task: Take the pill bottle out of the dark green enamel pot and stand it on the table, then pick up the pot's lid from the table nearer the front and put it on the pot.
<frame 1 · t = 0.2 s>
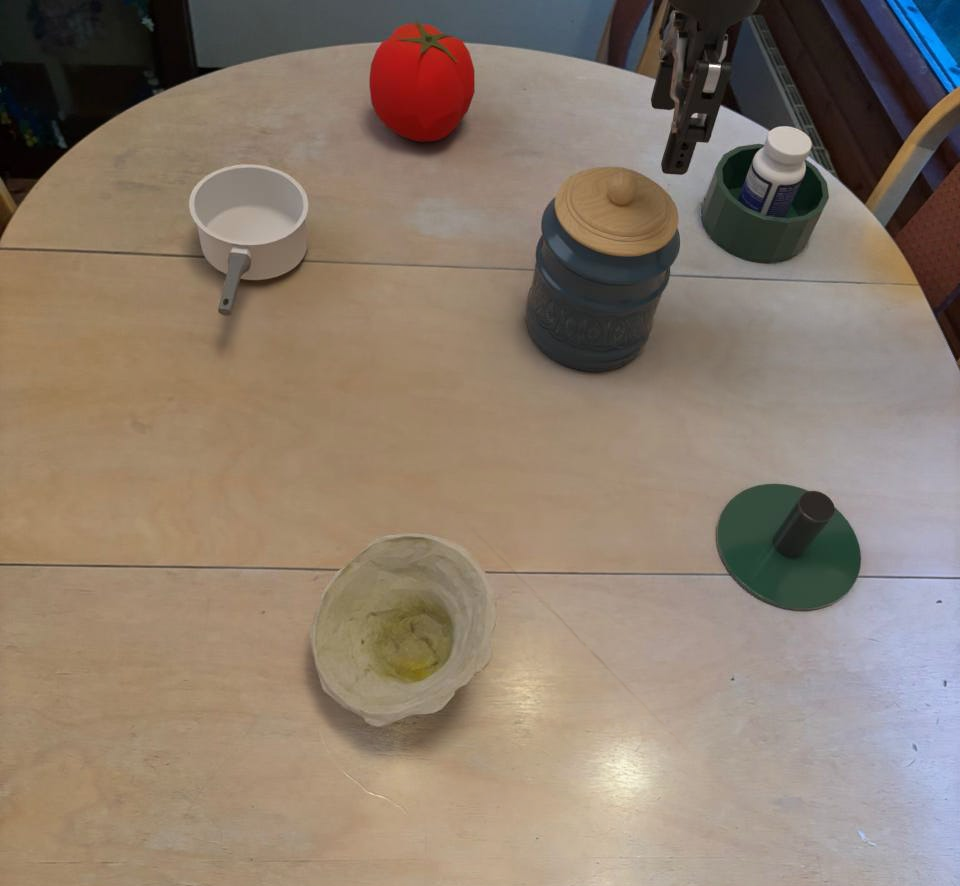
hand: (667, 138, 81), 20 cm above the table, tool pointing down, fingers open, 8 cm apart
pot: (754, 223, 107), on the table
bowl: (400, 663, 78), on the table
canister: (585, 328, 98), on the table
pill bottle: (755, 222, 107), resting on pot
saucepan: (249, 280, 96), on the table
lid: (787, 546, 87), point 1 cm above the table
tomato: (421, 126, 109), on the table
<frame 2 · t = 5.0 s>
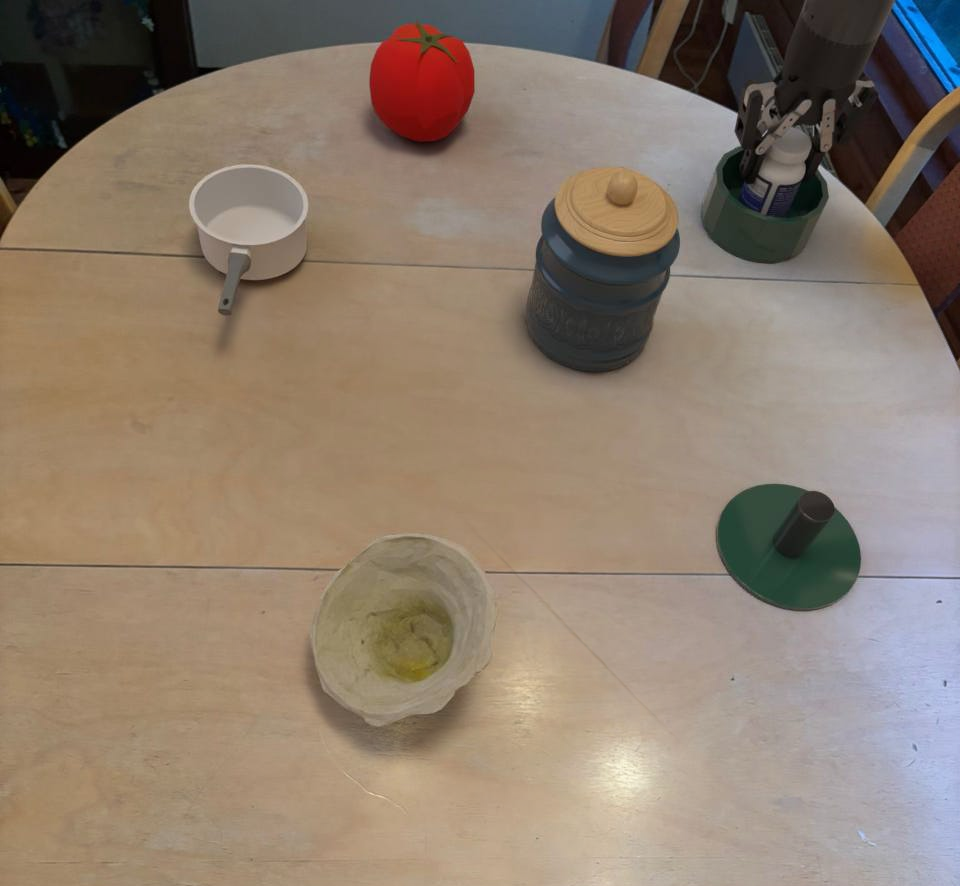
hand: (774, 177, 102), 6 cm above the table, tool pointing down, fingers closed on pill bottle, 5 cm apart
pill bottle: (755, 222, 107), resting on pot, touching gripper
everything else where it was.
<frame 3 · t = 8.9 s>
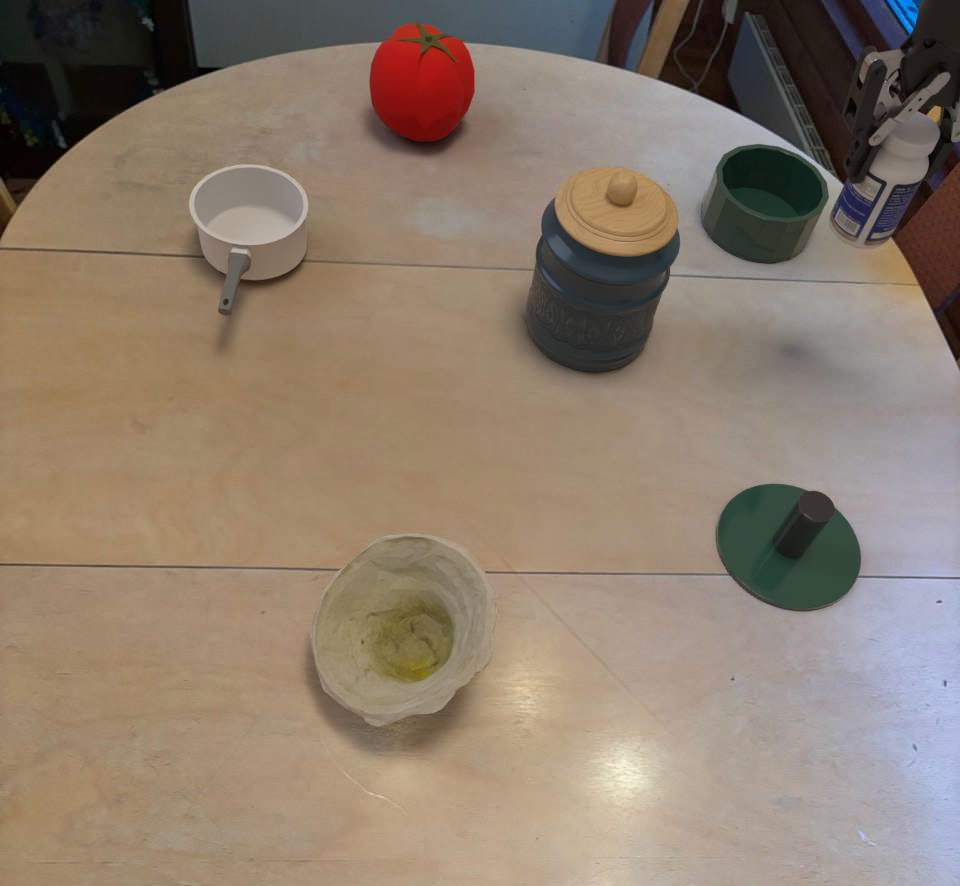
hand: (886, 175, 80), 21 cm above the table, tool pointing down, fingers closed on pill bottle, 5 cm apart
pill bottle: (856, 231, 85), point 15 cm above the table, touching gripper
everything else where it was.
when the fingers open (6 cm above the table, at t = 13.1 s): pill bottle stays where it is, on the table.
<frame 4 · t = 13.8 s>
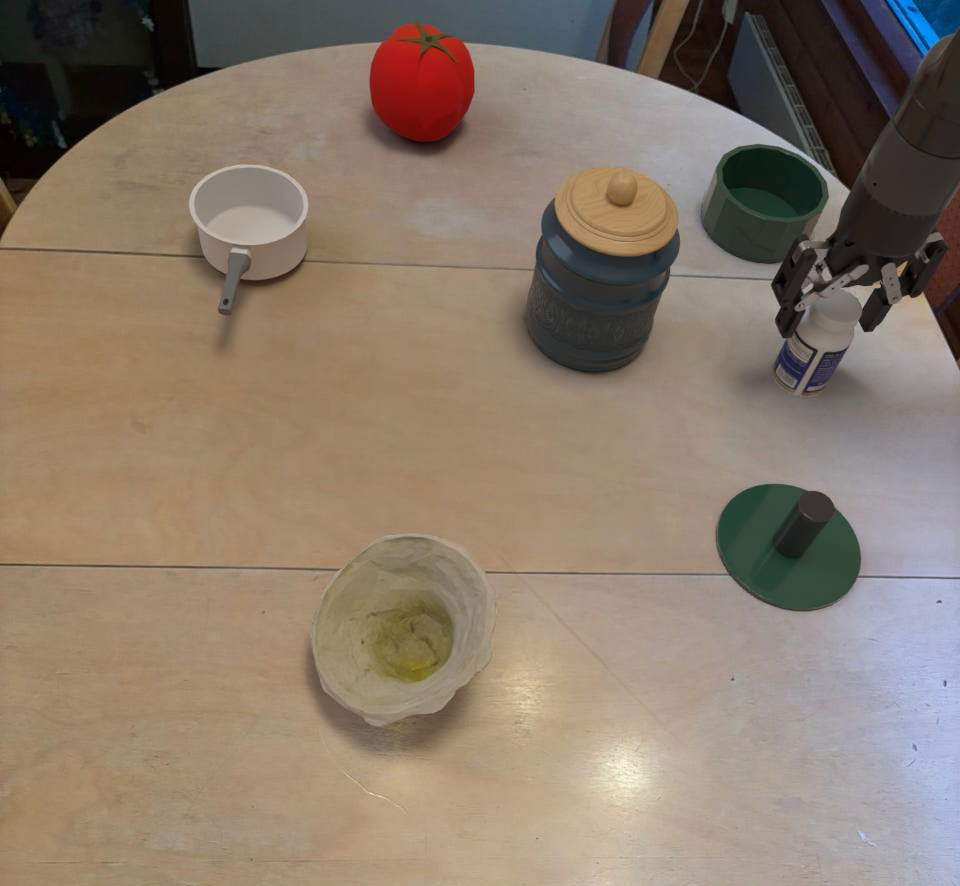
hand: (824, 328, 91), 7 cm above the table, tool pointing down, fingers open, 8 cm apart
pill bottle: (795, 380, 97), on the table
everything else where it was.
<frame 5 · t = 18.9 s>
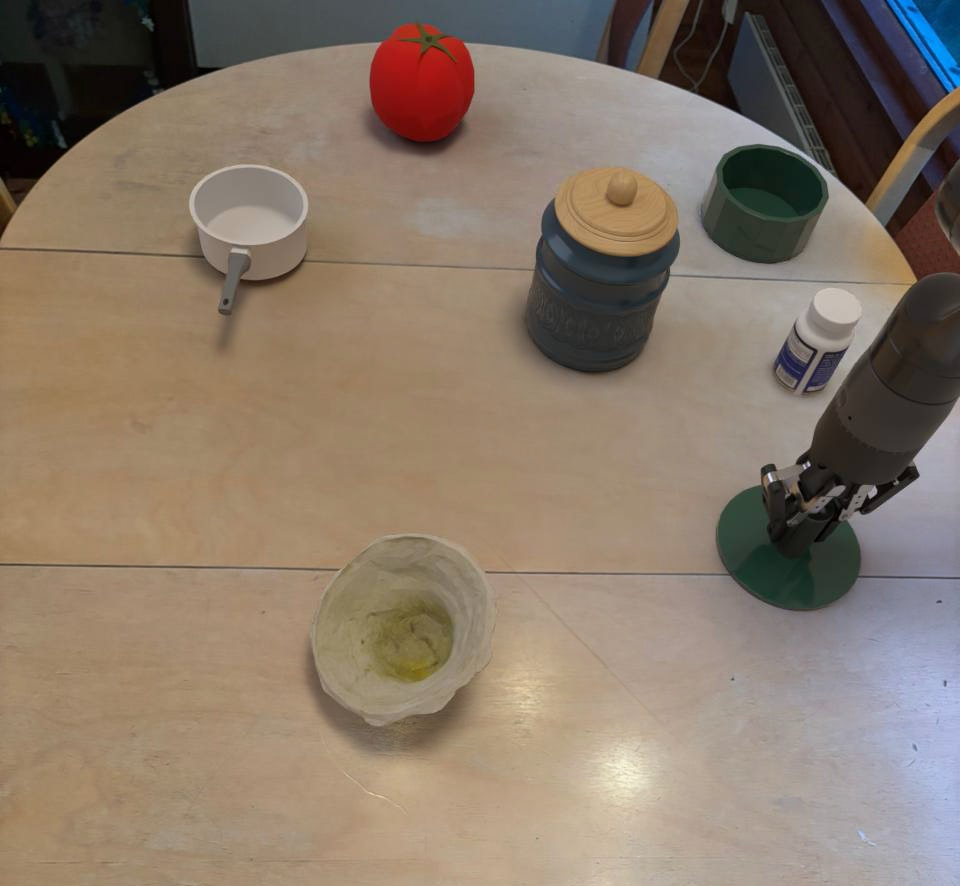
hand: (795, 535, 85), 2 cm above the table, tool pointing down, fingers closed on lid, 3 cm apart
lid: (787, 546, 87), point 1 cm above the table, touching gripper
everything else where it was.
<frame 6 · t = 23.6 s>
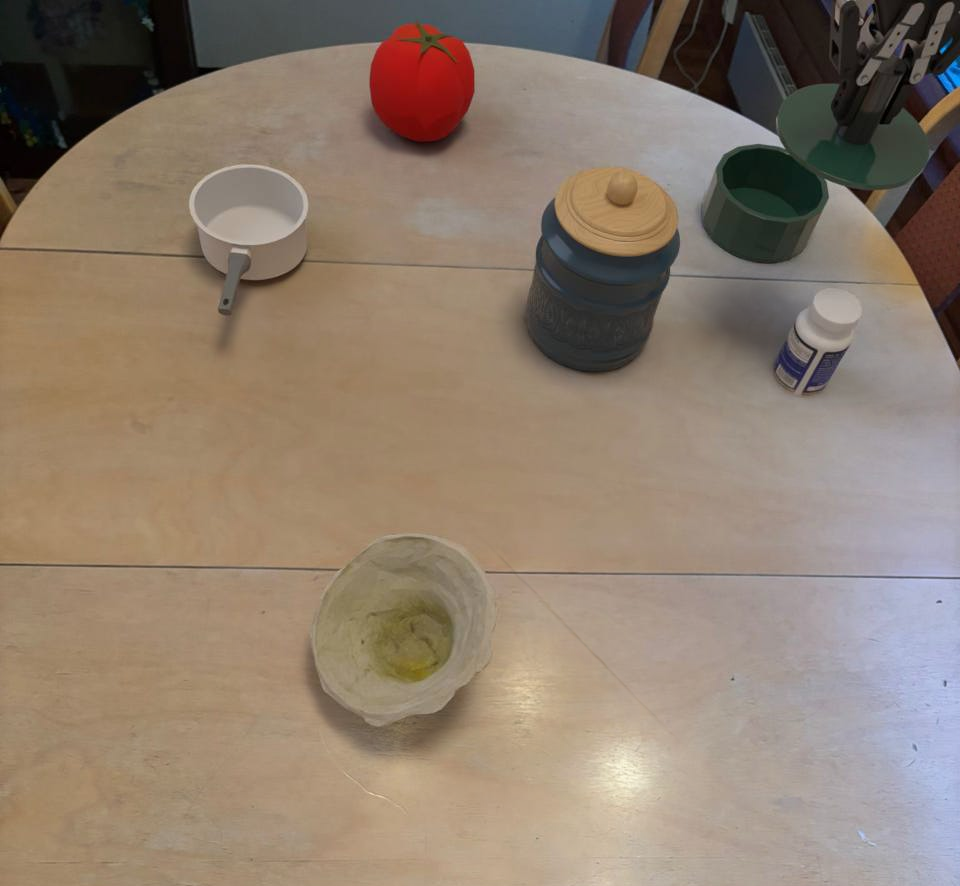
hand: (860, 118, 80), 23 cm above the table, tool pointing down, fingers closed on lid, 3 cm apart
lid: (851, 137, 82), point 21 cm above the table, touching gripper
everything else where it was.
when the fingers open (7 cm above the table, at t = 28.7 s): lid stays where it is, resting on pot.
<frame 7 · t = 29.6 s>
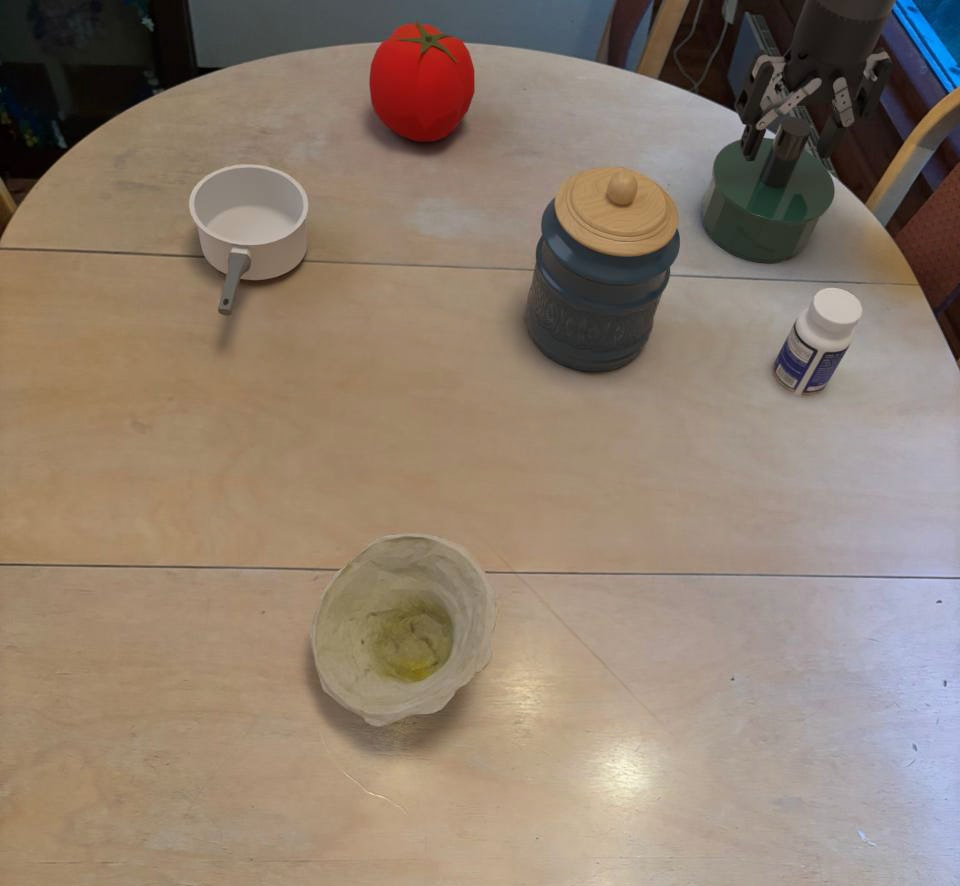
hand: (784, 154, 99), 9 cm above the table, tool pointing down, fingers open, 8 cm apart
lid: (772, 182, 102), point 5 cm above the table, touching pot
everything else where it was.
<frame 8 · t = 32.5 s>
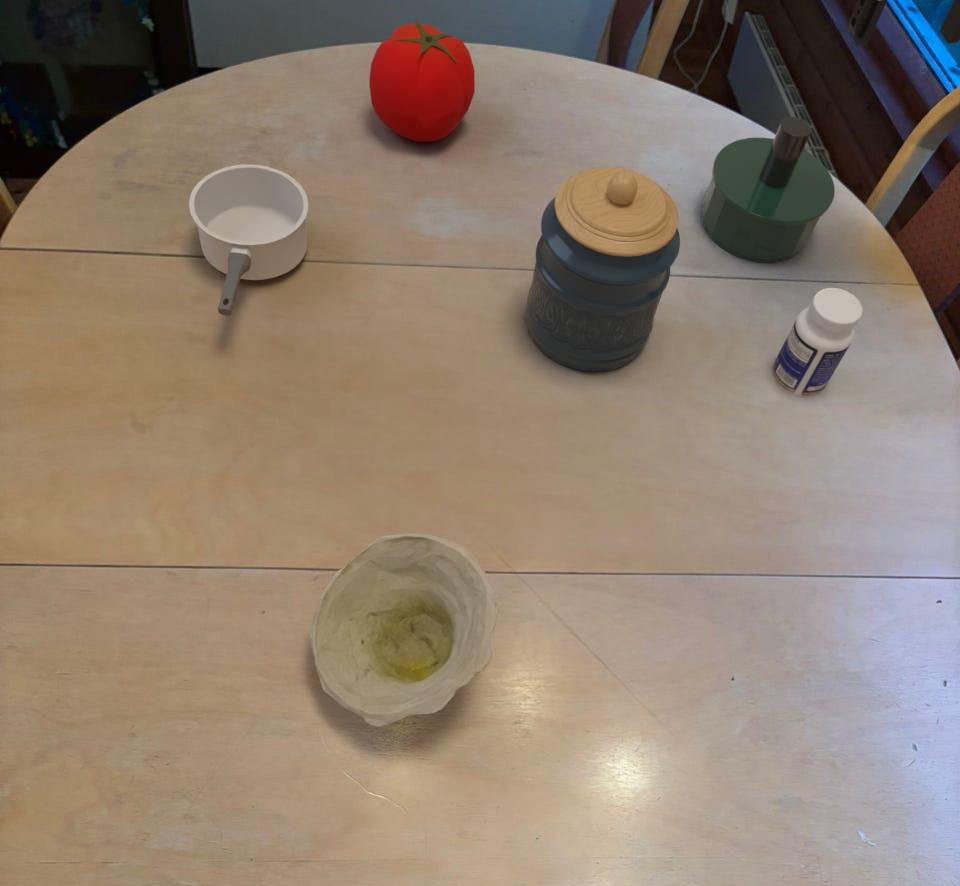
hand: (903, 38, 80), 26 cm above the table, tool pointing down, fingers open, 8 cm apart
nothing on the table moved.
at the end: pill bottle inside the target area (0.1 cm from its centre), on the table; pill bottle tilted 0°; lid 0.0 cm off-centre on the pot, point 5.4 cm above the pot's base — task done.
